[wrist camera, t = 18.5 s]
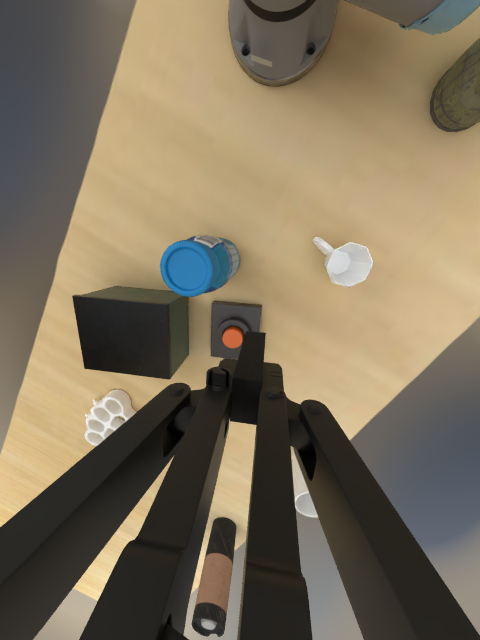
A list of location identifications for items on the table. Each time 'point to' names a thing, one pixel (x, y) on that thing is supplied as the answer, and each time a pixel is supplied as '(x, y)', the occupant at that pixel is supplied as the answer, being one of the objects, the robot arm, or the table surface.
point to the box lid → (124, 335)
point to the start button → (232, 337)
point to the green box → (176, 313)
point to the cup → (346, 262)
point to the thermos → (458, 93)
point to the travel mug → (215, 580)
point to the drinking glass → (301, 491)
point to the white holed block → (107, 416)
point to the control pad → (232, 325)
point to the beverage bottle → (199, 265)
